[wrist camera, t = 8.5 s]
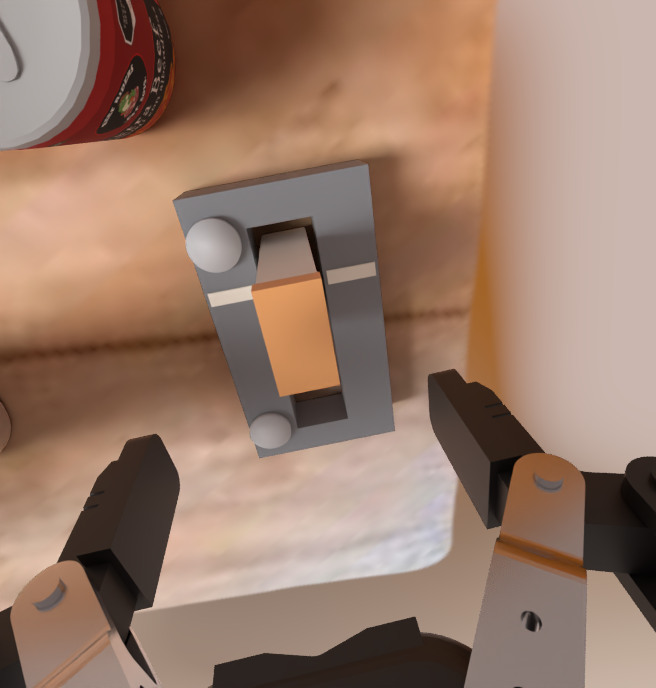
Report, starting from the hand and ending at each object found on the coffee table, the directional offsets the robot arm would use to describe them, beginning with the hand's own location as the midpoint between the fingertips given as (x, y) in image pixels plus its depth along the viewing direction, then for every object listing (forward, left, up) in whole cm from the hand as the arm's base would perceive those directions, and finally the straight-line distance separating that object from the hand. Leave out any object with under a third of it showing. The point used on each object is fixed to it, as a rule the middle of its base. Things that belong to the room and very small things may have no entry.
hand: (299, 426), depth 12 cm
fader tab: (0, 0, -16) cm, 16 cm away
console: (0, -4, -16) cm, 16 cm away
